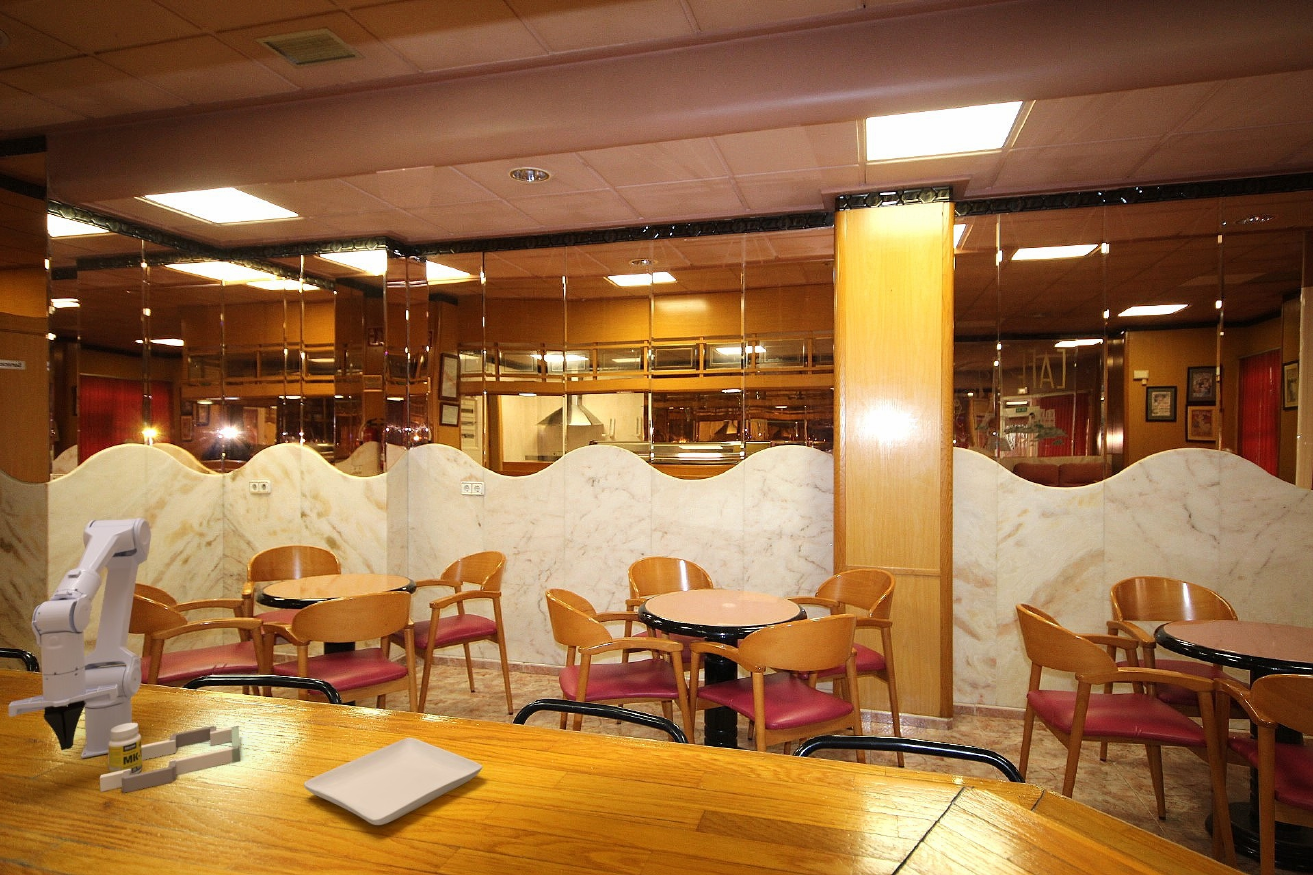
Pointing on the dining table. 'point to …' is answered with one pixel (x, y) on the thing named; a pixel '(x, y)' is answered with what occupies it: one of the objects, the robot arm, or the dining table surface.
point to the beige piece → (180, 764)
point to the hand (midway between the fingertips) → (67, 747)
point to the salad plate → (393, 780)
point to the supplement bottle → (125, 748)
